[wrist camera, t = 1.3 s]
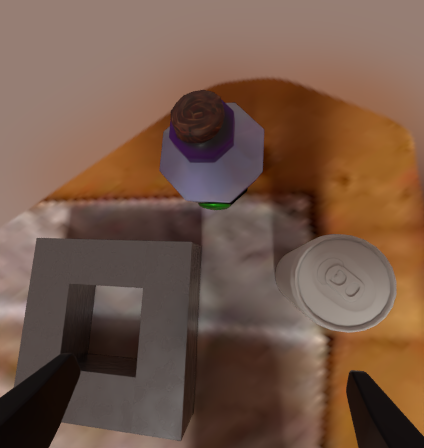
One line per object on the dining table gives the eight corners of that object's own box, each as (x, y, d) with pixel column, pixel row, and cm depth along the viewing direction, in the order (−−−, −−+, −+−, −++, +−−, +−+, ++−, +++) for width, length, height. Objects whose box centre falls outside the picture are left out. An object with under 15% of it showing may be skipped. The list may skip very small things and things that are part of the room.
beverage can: (298, 239, 25) (335, 211, 13) (341, 275, 24) (423, 280, 12) (263, 277, 25) (270, 283, 13) (304, 315, 24) (353, 359, 12)
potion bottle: (195, 233, 26) (147, 204, 15) (171, 158, 28) (112, 80, 17) (278, 203, 26) (296, 148, 14) (247, 128, 27) (241, 24, 16)
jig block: (193, 412, 24) (181, 441, 20) (46, 392, 26) (9, 414, 22) (201, 246, 26) (191, 241, 22) (66, 242, 29) (36, 237, 25)
